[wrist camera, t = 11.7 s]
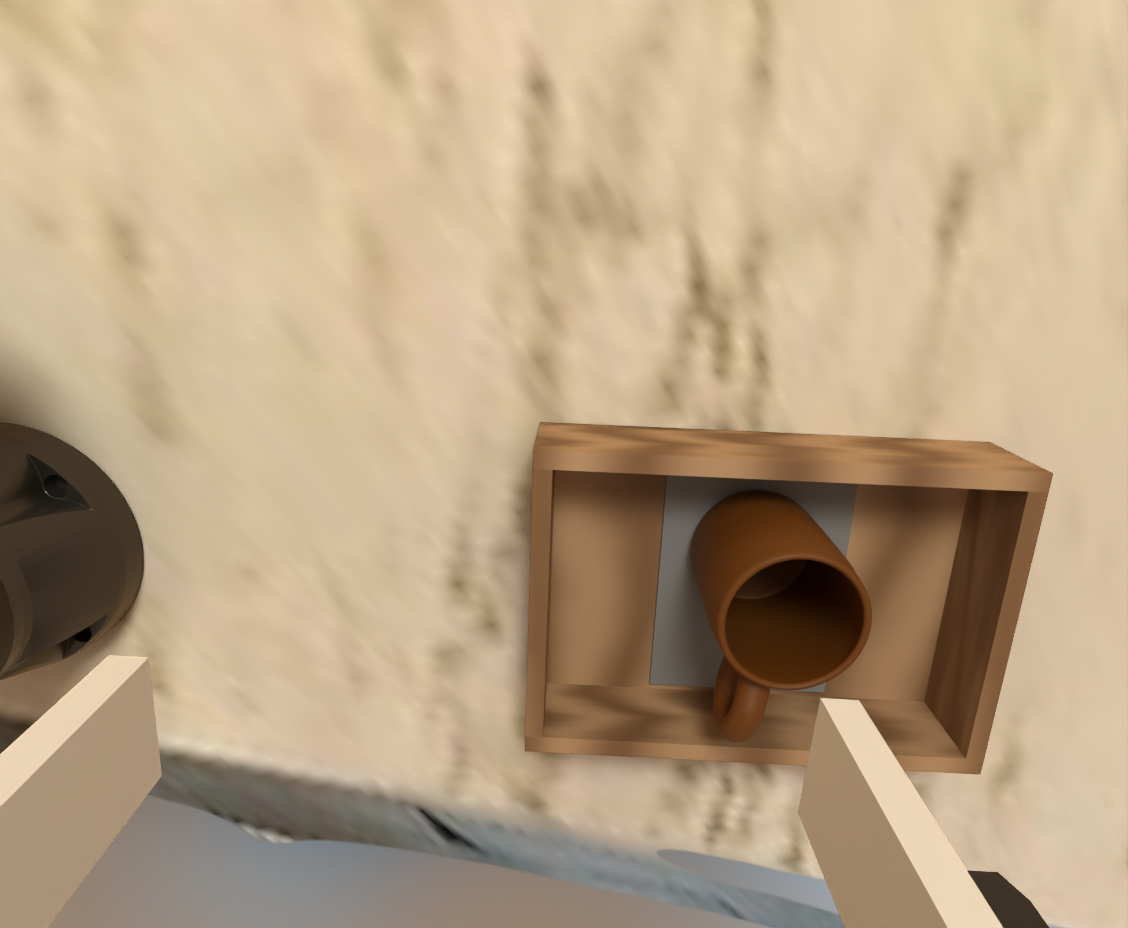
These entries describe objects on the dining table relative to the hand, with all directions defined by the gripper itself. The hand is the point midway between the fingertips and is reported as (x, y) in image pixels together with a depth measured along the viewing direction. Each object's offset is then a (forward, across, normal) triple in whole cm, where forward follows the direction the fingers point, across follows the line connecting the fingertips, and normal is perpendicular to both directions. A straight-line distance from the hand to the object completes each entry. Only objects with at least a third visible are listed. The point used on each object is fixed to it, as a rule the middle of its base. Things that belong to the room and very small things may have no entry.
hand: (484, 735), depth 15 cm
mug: (+28, +13, -9) cm, 33 cm away
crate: (+29, +13, -10) cm, 33 cm away
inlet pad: (+29, +13, -10) cm, 33 cm away
